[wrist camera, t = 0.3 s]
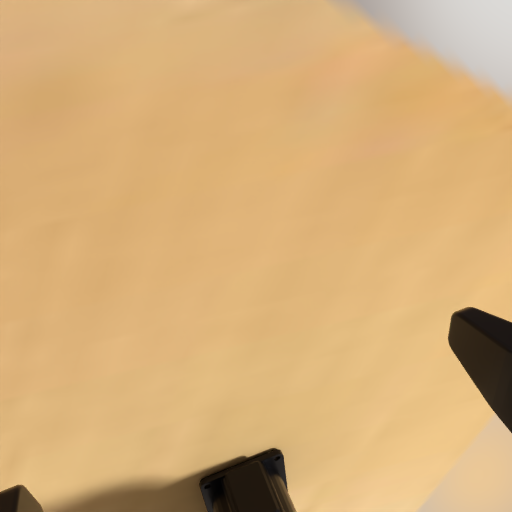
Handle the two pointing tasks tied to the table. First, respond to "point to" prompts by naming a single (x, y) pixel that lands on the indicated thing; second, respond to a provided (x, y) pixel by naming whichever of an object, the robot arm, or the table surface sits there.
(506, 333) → the robot arm
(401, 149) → the table surface
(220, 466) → the table surface
